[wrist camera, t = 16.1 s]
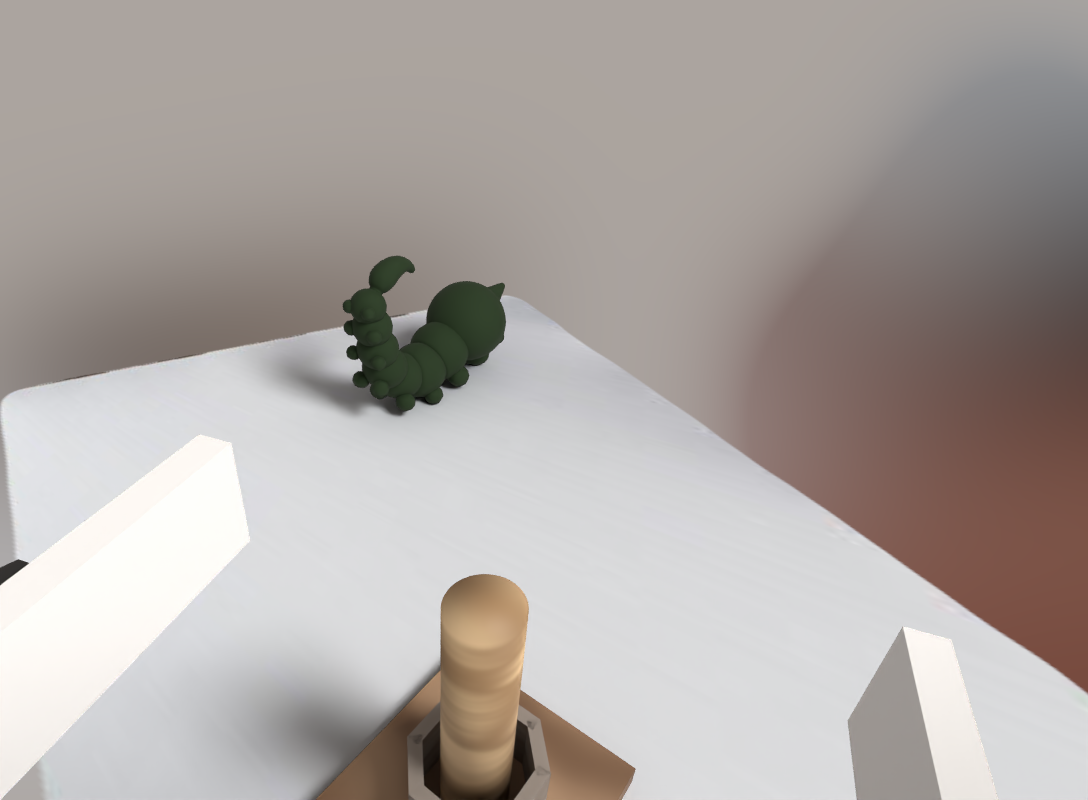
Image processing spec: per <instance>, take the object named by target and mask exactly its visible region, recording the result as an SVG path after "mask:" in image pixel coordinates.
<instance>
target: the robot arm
mask: <svg viewBox="0 0 1088 800" xmlns="http://www.w3.org/2000/svg"><path fill="white" fill-rule="evenodd" d="M249 541H250V537H249V532H248V527H247V522H246V516H245V511H244V506H243V501H242V496H241V491H240V486H239V481H238V475H237V470H236V465H235V460H234V455H233V450H232V445H231V443H229V442H225V441H221V440H218V439H214V438H210V437H207V436H203V435H198V436H197V437H195V438H194V439H193V440H191V441H190V442H189V443H187V444H186V445H185V446H183V447H182V448H181V449H179V450H178V451H177V452H176V453H174V454H173V455H172V456H170V457H169V458H168V459H166V460H165V461H164V462H162V463H161V464H160V465H158V466H157V467H156V468H154V469H153V470H152V471H150V472H149V473H148V474H147V475H145V476H144V477H143V478H141V479H140V480H139V481H137V482H136V483H135V484H133V485H132V486H131V487H129V488H128V489H127V490H125V491H124V492H123V493H121V494H120V495H119V496H117V497H116V498H115V499H114V500H112V501H111V502H110V503H108V504H107V505H106V506H104V507H103V508H102V509H100V510H99V511H98V512H96V513H95V514H94V515H92V516H91V517H90V518H88V519H87V520H86V521H85V522H83V523H82V524H81V525H79V526H78V527H77V528H75V529H74V530H73V531H71V532H70V533H69V534H67V535H66V536H65V537H63V538H62V539H61V540H59V541H58V542H57V543H55V544H54V545H53V546H52V547H50V548H49V549H48V550H46V551H45V552H44V553H42V554H41V555H40V556H38V557H37V558H36V559H34V560H33V561H32V562H30V563H27V562H24V561H21V560H16V561H14V562H11V563H9V564H7V565H5V566H3V567H1V568H0V799H2V798H3V796H5V795H6V794H7V792H8V791H9V790H10V789H11V788H12V787H13V786H14V785H15V784H16V783H17V782H18V781H19V780H20V779H21V778H22V777H23V776H24V775H25V773H27V772H28V770H30V769H31V768H32V767H33V765H34V764H35V763H36V762H37V761H38V760H39V759H40V758H41V757H42V756H43V755H44V754H45V753H46V752H47V751H48V750H49V749H50V748H51V747H52V746H53V745H54V744H55V743H56V742H57V741H58V739H59V738H60V737H61V736H62V735H63V734H64V733H65V732H66V731H67V730H68V729H69V728H70V727H71V726H72V725H73V724H74V723H75V722H76V721H77V720H78V719H79V718H80V717H81V716H82V715H83V714H84V712H85V711H86V710H87V709H88V708H89V707H90V706H91V705H92V704H93V703H94V702H95V701H96V700H97V699H98V698H99V697H100V696H101V695H102V694H103V693H104V692H105V691H106V690H107V689H108V688H109V686H110V685H111V684H112V683H113V682H114V681H115V680H116V679H117V678H118V677H119V676H120V675H121V674H122V673H123V672H124V671H125V670H126V669H127V668H128V667H129V666H130V665H131V664H132V663H133V662H134V661H135V659H136V658H137V657H138V656H139V655H140V654H141V653H142V652H143V651H144V650H145V649H146V648H147V647H148V646H149V645H150V644H151V643H152V642H153V641H154V640H155V639H156V638H157V637H158V636H159V635H160V633H161V632H162V631H163V630H164V629H165V628H166V627H167V626H168V625H169V624H170V623H171V622H172V621H173V620H174V619H175V618H176V617H177V616H178V615H179V614H180V613H181V612H182V611H183V610H184V609H185V608H186V606H187V605H188V604H189V603H190V602H191V601H192V600H193V599H194V598H195V597H196V596H197V595H198V594H199V593H200V592H201V591H202V590H203V589H204V588H205V587H206V586H207V585H208V584H209V583H210V582H211V580H212V579H213V578H214V577H215V576H216V575H217V574H218V573H219V572H220V571H221V570H222V569H223V568H224V567H225V566H226V565H227V564H228V563H229V562H230V561H231V560H232V559H233V558H234V557H235V556H236V555H237V553H238V552H239V551H240V550H241V549H242V548H243V547H244V546H245V545H246V544H247V543H248V542H249ZM848 728H849V736H850V745H851V753H852V762H853V770H854V779H855V788H856V796H857V800H999V799H998V796H997V793H996V789H995V786H994V783H993V779H992V776H991V772H990V769H989V766H988V762H987V759H986V756H985V752H984V749H983V745H982V742H981V739H980V735H979V732H978V729H977V725H976V722H975V718H974V715H973V712H972V708H971V705H970V702H969V698H968V695H967V691H966V688H965V685H964V681H963V678H962V675H961V671H960V668H959V664H958V661H957V658H956V654H955V651H954V647H953V644H952V641H951V639H947V638H943V637H940V636H936V635H932V634H929V633H925V632H921V631H918V630H914V629H910V628H907V627H902V629H901V631H900V632H899V634H898V636H897V637H896V639H895V641H894V643H893V644H892V646H891V648H890V649H889V651H888V653H887V654H886V656H885V658H884V660H883V661H882V663H881V665H880V666H879V668H878V670H877V672H876V673H875V675H874V677H873V678H872V680H871V682H870V684H869V685H868V687H867V689H866V690H865V692H864V694H863V696H862V697H861V699H860V701H859V702H858V704H857V706H856V707H855V709H854V711H853V713H852V714H851V716H850V718H849V719H848Z"/></svg>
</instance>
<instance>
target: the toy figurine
mask: <svg viewBox="0 0 1088 800" xmlns="http://www.w3.org/2000/svg"><path fill="white" fill-rule="evenodd" d="M406 271H407V272H409V273H413V272H414V271H415V268H414V265H413V264H412V262H411V261H410V260H408V259H406V258H405V257H401V256H391V257H388V258H386V259H384V260H382V261H380V262H379V263H378V264H377V265H376V266H374V268H373V269H372V271H371V272H370V276H369V285H370V288H369V289H362V290H359V291H357V292H356V293H355V294H354V295H353V296H352V298H351V300H346V301H345V302H344V303H343V310H344V311H345V312H346V313H351V314H352V316H353V317H354V319H353V320H350V321H347V322H346V323H345V324H344V331H345V332H346V333H347V334H348V335H351V336H352V335H354V336H355V337H356V339H357V340H358V341H357V345H356V346H354V345H352V346H350V347H348V348H347V351H346V353H347V357H349V358H350V359H353V360H356V359H358V358H359V359H360V360H361V362H362V371H363V372H362V371H358V372H357V373H355V374H354V376H353V383H354V385H355V386H357V387H360V388H365V387H366V386H367V385H368V384H369V383H370V384H372V385H371V387H370V392H371V394H372V395H373V397H375V398H377V399H383V398H385V397H387V395H388V396H389V397H393V398H396V405H397V407H398V408H399V409H400V410H402V411H408V410H411V409H412V408H413V407H414V406H415V398H414V397H425V399H426V401H427V402H429V403H431V404H436V403H439V402H440V401H441V399H442V397H443V392H442V390H441V388H439V387H440V386H441V385H442V383H443V382H444V379H448V381H449V382H450V383H451V384H452V385H454V386H456V387H459V386H462V385H464V384H466V382H467V380H468V378H469V373H468V370H467V369H466V368H465V367H464V366H465V364H466V363H468V364H471V365H480V364H482V363H485V361H486V360H487V359H488V357H489V353H490V352H491V351H492V350H494V349H495V348H496V347H497V345H498V344H499V343H501V342H502V341H503V340H504V331H505V326H506V318H505V312H504V309H503V306H502V304H501V302H500V299H501V296H502V293H503V291H504V288H505V285H504V284H503V283H500V284H496V285H493V286H490V287H486V286H483V285H481V284H479V283H475V282H470V281H469V282H468V281H463V282H457V283H453V284H451V285H448V286H447V287H445V288H444V289H442V290H441V291H440V292H439V293H438V294H437V295H436V296H435V297H434V299H433V300H432V302H431V304H430V306H429V308H428V311H427V319H426V325H424V326H422V327H421V328H419V329H418V330H417V331H416V333H415V334H414V336H413V338H412V339H411V343H410V344H408V345H406V346H404V347H403V348H401V349H400V350H399V344H398V341H397V339H396V337H395V336H394V335H393V334H392V328H393V325H392V321H391V318H390V317H389V315H388V314H387V313H386V307H387V305H386V302H385V299H384V297H383V296H382V294H383V293H386V292H387V291H389V290H390V289H391V288H392V287H393V286H394V285H395V284H396V282H397V281H398V279H399V278H400V277H401V275H402V274H404V273H405V272H406Z"/></svg>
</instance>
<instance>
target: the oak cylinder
mask: <svg viewBox="0 0 1088 800" xmlns="http://www.w3.org/2000/svg"><path fill="white" fill-rule="evenodd" d="M528 613H529V607H528V601H527V598H526V596H525V594H524V593H523V591H522V590H521V589H520V588H519V587H518V586H517V585H516V584H515V583H513V582H512V581H510V580H508V579H506V578H503V577H500V576H496V575H490V574H480V575H473V576H469V577H467V578H464V579H462V580H460V581H458V582H457V583H455V584H454V585H453V586H451V587H450V588H449V590H448V591H447V592H446V594H445V595H444V597H443V600H442V603H441V702H440V799H441V800H508V799H509V791H510V781H511V772H512V762H513V753H514V744H515V734H516V725H517V716H518V706H519V697H520V687H521V678H522V669H523V659H524V650H525V641H526V631H527V622H528Z"/></svg>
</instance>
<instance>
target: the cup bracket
mask: <svg viewBox="0 0 1088 800" xmlns="http://www.w3.org/2000/svg"><path fill="white" fill-rule="evenodd" d="M440 702H441V670H440V671H439V672H438V673H437V674H436V675H435V676H434V677H433V678H432V679H431V680H430V681H429V682H428V683H427V684H426V685H425V687H424V688H423V689H422V690H421V691H420V692H419V693H418V694H417V695H416V696H415V697H414V698H413V699H412V700H411V701H410V702H409V703H408V704H407V705H406V706H405V707H404V708H403V709H402V710H401V711H400V712H399V714H398V715H397V716H396V717H395V718H394V719H393V720H392V721H391V722H390V723H389V724H388V725H387V726H386V727H385V728H384V729H383V730H382V731H381V732H380V733H379V734H378V735H377V736H376V737H375V738H374V739H373V740H372V742H371V743H370V744H369V745H368V746H367V747H366V748H365V749H364V750H363V751H362V752H361V753H360V754H359V755H358V756H357V757H356V758H355V759H354V760H353V761H352V762H351V763H350V764H349V765H348V766H347V767H346V768H345V770H344V771H343V772H342V773H341V774H340V775H339V776H338V777H337V778H336V779H335V780H334V781H333V782H332V783H331V784H330V785H329V786H328V787H327V788H326V789H325V790H324V791H323V792H322V793H321V794H320V795H319V796H318V798H317V799H316V800H441V799H440ZM634 773H635V768H634V767H632V766H631V765H629V764H628V763H626V762H625V761H623V760H622V759H621V758H619V757H618V756H616V755H615V754H613V753H612V752H610V751H609V750H607V749H606V748H605V747H603V746H602V745H600V744H599V743H597V742H596V741H594V740H593V739H591V738H590V737H588V736H587V735H586V734H584V733H583V732H581V731H580V730H578V729H577V728H575V727H574V726H572V725H571V724H570V723H568V722H567V721H565V720H564V719H562V718H561V717H559V716H558V715H556V714H555V713H554V712H552V711H551V710H549V709H548V708H546V707H545V706H543V705H542V704H540V703H539V702H537V701H536V700H535V699H533V698H532V697H530V696H529V695H527V694H526V693H524V692H523V691H521V690H520V697H519V706H518V716H517V725H516V734H515V744H514V753H513V762H512V772H511V781H510V791H509V799H508V800H622V798H623V796H624V794H625V793H626V791H627V789H628V787H629V786H630V784H631V782H632V779H633V776H634Z"/></svg>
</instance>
